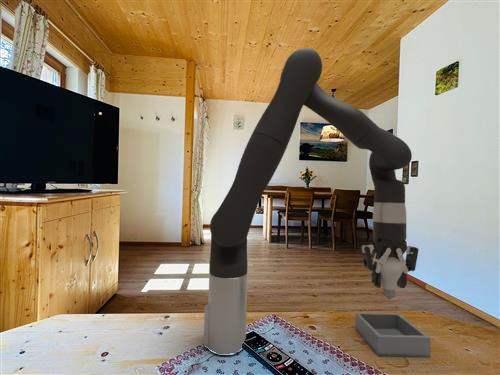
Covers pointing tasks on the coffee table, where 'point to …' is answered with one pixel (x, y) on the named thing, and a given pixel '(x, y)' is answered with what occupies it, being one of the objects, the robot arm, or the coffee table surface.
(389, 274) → the lightbulb
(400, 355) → the tray
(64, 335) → the coffee table surface
